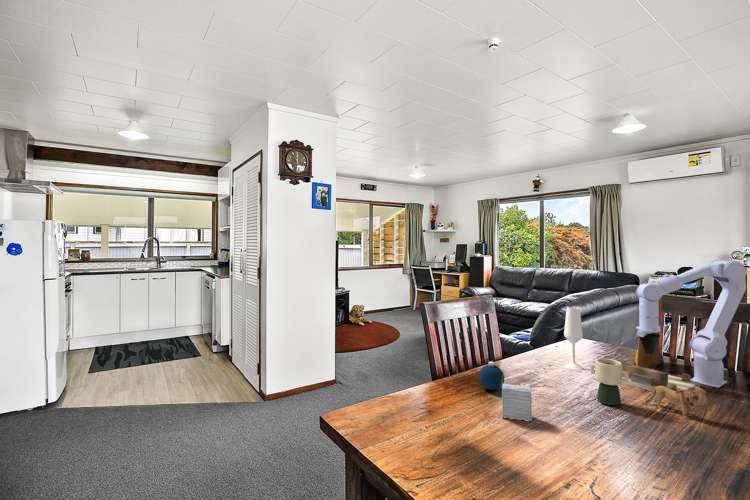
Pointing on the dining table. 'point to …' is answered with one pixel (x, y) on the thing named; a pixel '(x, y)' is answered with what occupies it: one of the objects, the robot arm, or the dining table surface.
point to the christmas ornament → (491, 376)
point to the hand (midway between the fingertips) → (649, 353)
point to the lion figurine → (680, 398)
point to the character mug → (608, 380)
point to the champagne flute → (573, 332)
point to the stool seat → (647, 384)
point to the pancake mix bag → (649, 359)
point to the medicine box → (517, 402)
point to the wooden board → (647, 373)
